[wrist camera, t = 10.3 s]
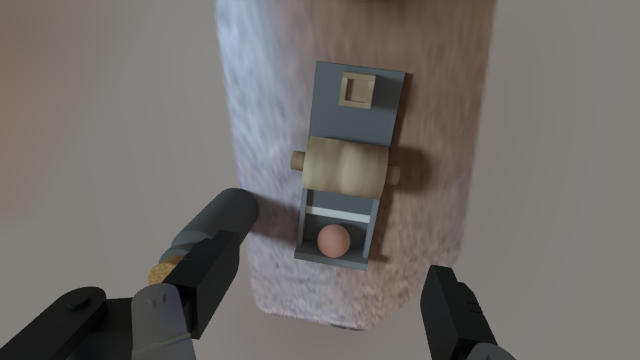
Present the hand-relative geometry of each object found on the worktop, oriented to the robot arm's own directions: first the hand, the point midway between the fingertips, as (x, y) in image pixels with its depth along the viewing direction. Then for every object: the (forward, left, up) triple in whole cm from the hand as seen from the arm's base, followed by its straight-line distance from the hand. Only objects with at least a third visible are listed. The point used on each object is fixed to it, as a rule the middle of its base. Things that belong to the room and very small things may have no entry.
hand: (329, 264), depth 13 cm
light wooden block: (-5, 0, -24) cm, 25 cm away
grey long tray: (+5, 0, -24) cm, 25 cm away
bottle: (+12, -13, -24) cm, 30 cm away
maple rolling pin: (+3, 0, -24) cm, 24 cm away
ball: (+15, 0, -23) cm, 27 cm away
